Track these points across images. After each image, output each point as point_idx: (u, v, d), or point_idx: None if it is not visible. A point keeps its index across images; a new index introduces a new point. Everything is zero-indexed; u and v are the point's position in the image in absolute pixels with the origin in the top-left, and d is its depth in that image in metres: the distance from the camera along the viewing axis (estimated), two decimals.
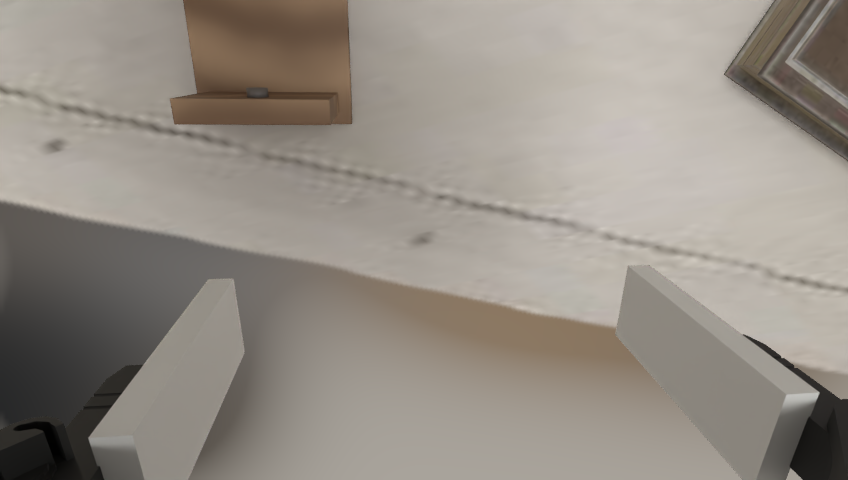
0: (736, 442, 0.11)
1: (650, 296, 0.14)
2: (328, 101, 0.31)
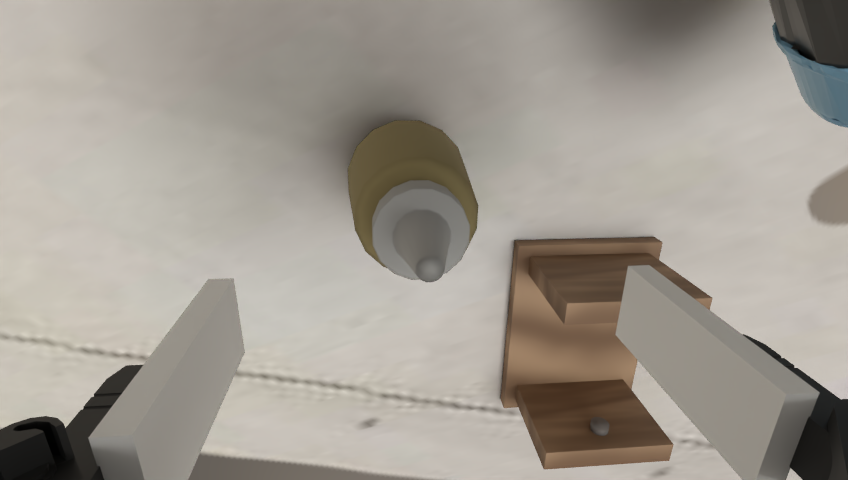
0: (736, 442, 0.11)
1: (650, 296, 0.14)
2: (672, 445, 0.36)
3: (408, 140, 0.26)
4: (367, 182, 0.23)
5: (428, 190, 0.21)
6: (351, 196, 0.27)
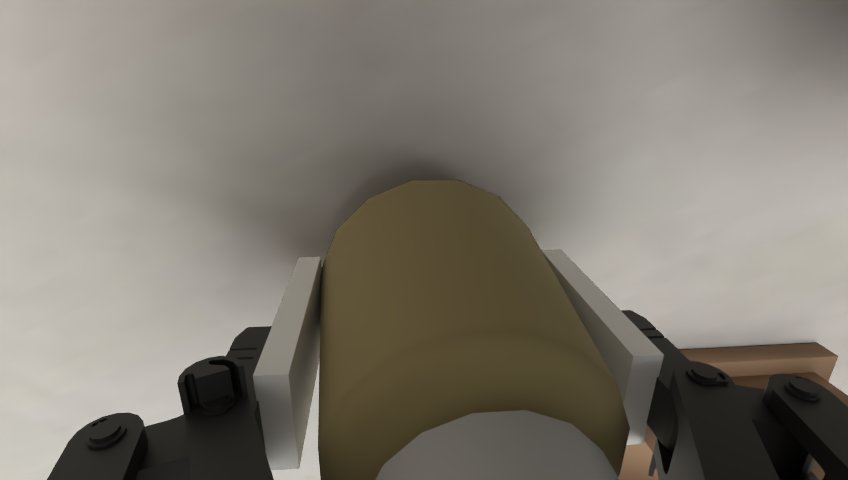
0: None
1: None
2: None
3: (448, 248, 0.11)
4: (350, 394, 0.09)
5: None
6: None
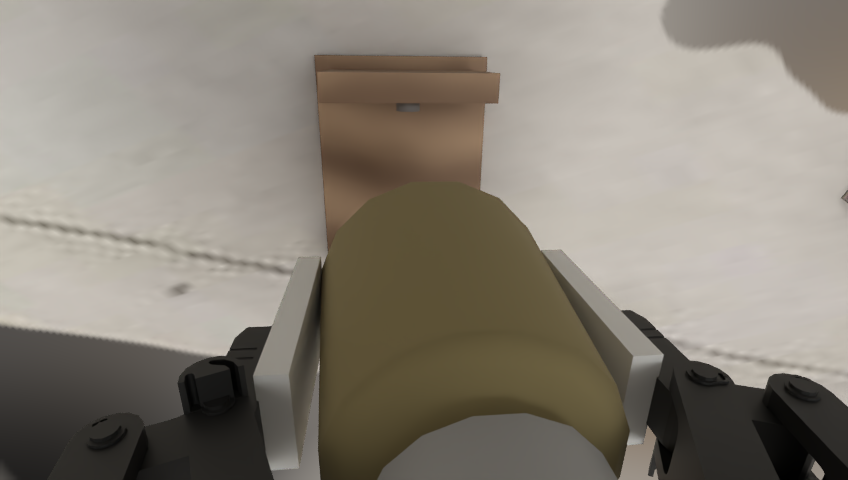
0: None
1: None
2: None
3: (448, 250, 0.11)
4: (350, 397, 0.09)
5: None
6: None
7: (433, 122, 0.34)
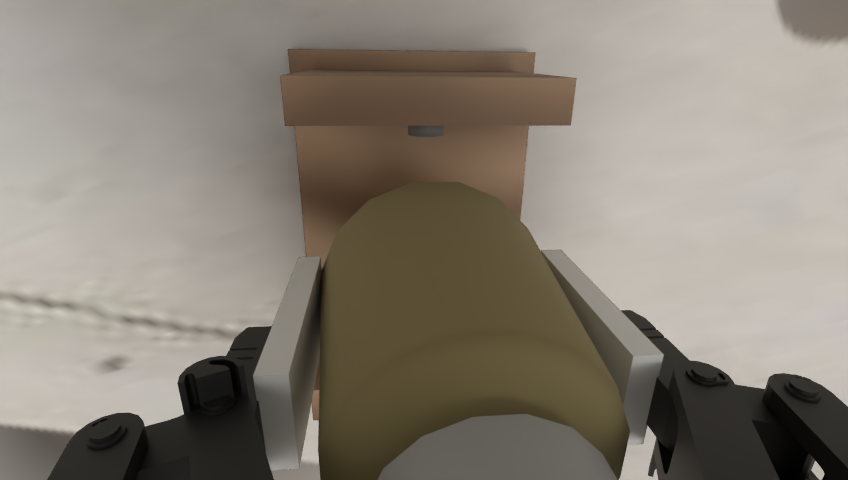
0: None
1: None
2: None
3: (448, 251, 0.11)
4: (350, 397, 0.09)
5: None
6: None
7: (457, 143, 0.24)
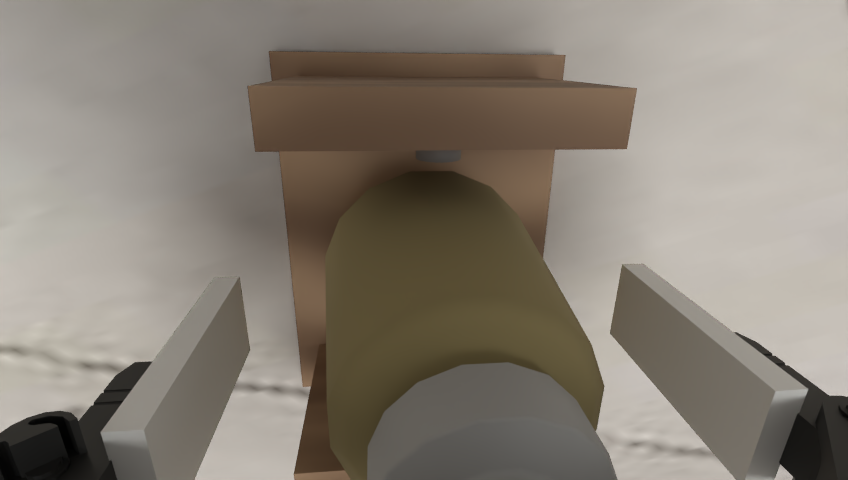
0: (727, 438, 0.11)
1: (644, 294, 0.15)
2: None
3: (442, 229, 0.12)
4: (355, 353, 0.10)
5: (521, 423, 0.08)
6: None
7: (471, 162, 0.21)
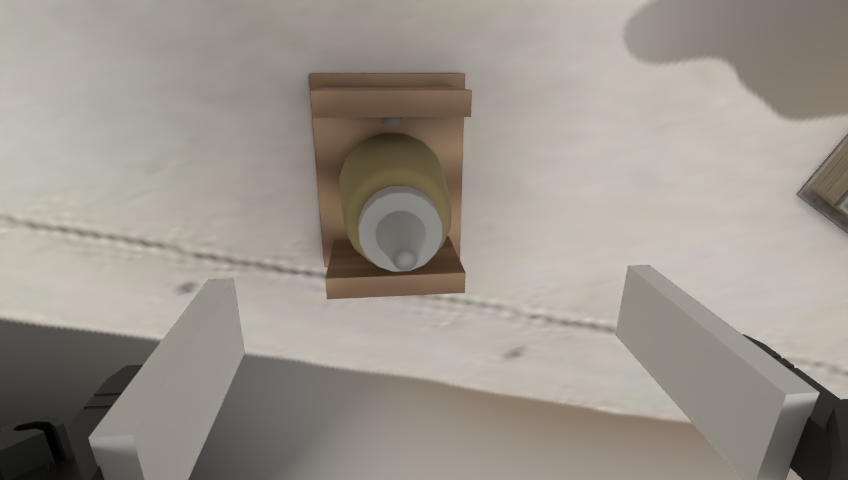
0: (736, 442, 0.11)
1: (650, 296, 0.14)
2: (464, 273, 0.34)
3: (390, 151, 0.29)
4: (354, 188, 0.27)
5: (405, 194, 0.24)
6: None
7: (417, 132, 0.38)
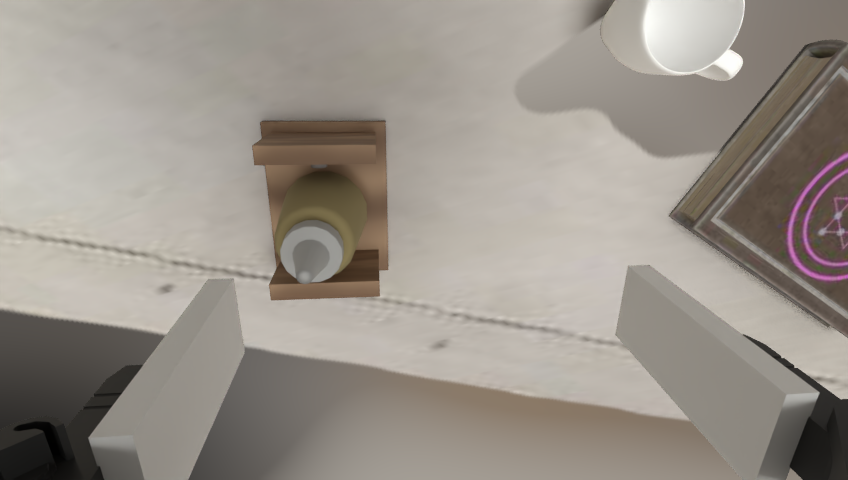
0: (736, 442, 0.11)
1: (650, 296, 0.14)
2: (378, 281, 0.43)
3: (313, 190, 0.39)
4: (281, 221, 0.36)
5: (312, 227, 0.34)
6: None
7: (349, 167, 0.47)
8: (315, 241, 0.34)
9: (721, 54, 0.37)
